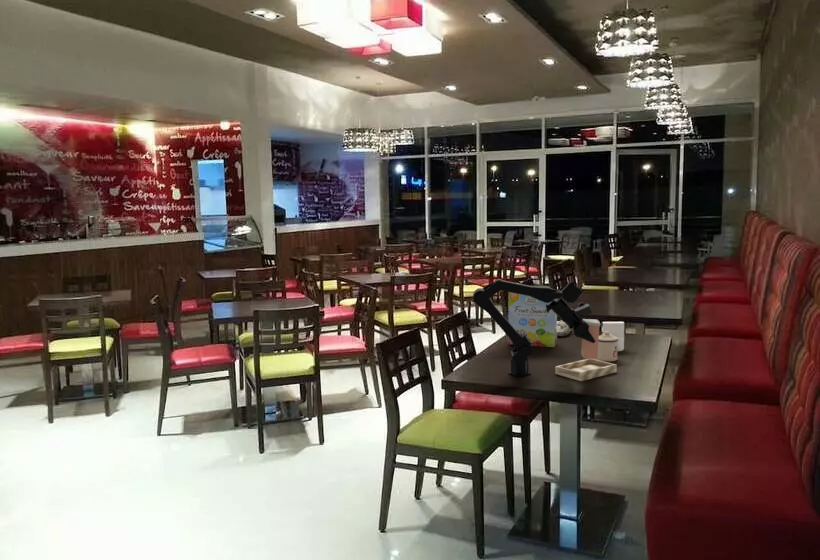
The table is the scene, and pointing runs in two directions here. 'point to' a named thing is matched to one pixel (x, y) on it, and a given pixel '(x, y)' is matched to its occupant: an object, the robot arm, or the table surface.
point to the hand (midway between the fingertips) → (593, 340)
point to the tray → (585, 369)
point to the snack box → (532, 320)
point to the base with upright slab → (615, 332)
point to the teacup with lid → (607, 347)
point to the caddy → (588, 347)
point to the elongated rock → (562, 329)
